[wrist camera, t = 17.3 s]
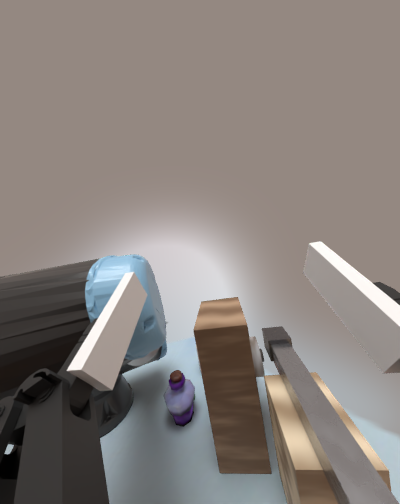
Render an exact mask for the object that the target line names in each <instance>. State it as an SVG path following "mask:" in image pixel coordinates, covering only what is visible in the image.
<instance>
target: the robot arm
mask: <svg viewBox="0 0 400 504" xmlns="http://www.w3.org/2000/svg"><path fill="white" fill-rule="evenodd" d="M303 273H304V275H305V276H306V277H307V278H308V280H309V281H310V282H311V283H312V285H313V286H314V287H315V288H316V289H317V291H318V292H319V293H320V295H321V296H322V297H323V299H324V300H325V301H326V302H327V304H328V305H329V306H330V307H331V309H332V310H333V311H334V312H335V314H336V315H337V316H338V317H339V319H340V320H341V321H342V322H343V324H344V325H345V326H346V328H347V329H348V330H349V331H350V332H351V334H352V335H353V336H354V338H355V339H356V340H357V341H358V343H359V344H360V345H361V346H362V348H363V349H364V350H365V352H366V353H367V354H368V355H369V356H370V358H371V359H372V360H373V361H374V363H375V364H376V365H377V367H378V368H379V369H380V370H381V372H382V373H400V293H398V292H397V291H396V290H395V289H393V288H391V287H389V286H387V285H384V284H383V283H381V282H376V283H371V282H370V281H369V280H368V279H367V278H365V277H364V276H363V275H362V274H360V273H359V272H358V271H357V270H355V269H354V268H353V267H352V266H350V265H349V264H348V263H347V262H345V261H344V260H343V259H342V258H341V257H339V256H338V255H337V254H335V253H334V252H333V251H332V250H331V249H329V248H328V247H327V246H326V245H324V244H323V243H322V242H315V243H309V246H308V251H307V257H306V262H305V266H304V271H303ZM166 346H167V345H166V322H165V316H164V311H163V306H162V302H161V298H160V293H159V290H158V286H157V284H156V281H155V277H154V274H153V271H152V269H151V266H150V264H149V263H148V261H147V260H146V259H145V258H144V257H142V256H140V255H125V256H106V257H103V258H101V259H95V260H90V261H85V262H79V263H75V264H68V265H63V266H58V267H53V268H47V269H41V270H36V271H31V272H25V273H20V274H14V275H8V276H4V277H0V504H109V499H108V492H107V485H106V478H105V471H104V464H103V458H102V451H101V444H100V437H101V436H103V435H105V434H107V433H108V432H109V431H111V430H112V429H113V428H115V427H116V426H117V425H118V424H119V423H120V422H121V421H122V419H123V418H124V417H125V416H126V414H127V413H128V411H129V409H130V407H131V405H132V402H133V393H132V388H131V386H130V385H129V383H127V381H126V379H125V378H124V376H123V375H122V373H125V372H127V371H130V370H132V369H135V368H137V367H140V366H142V365H145V364H147V363H150V362H153V361H155V360H159V359H160V358H162V357H164V356H165V355H166V352H167V347H166ZM8 444H12V445H14V447H13V449H12V451H11V453H10V454H8V455H7V454H4V453H5V450H6V448H7V445H8Z"/></svg>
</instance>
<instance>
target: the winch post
mask: <svg viewBox="0 0 400 504" xmlns="http://www.w3.org/2000/svg"><path fill="white" fill-rule="evenodd" d="M194 335H195V341H196V346H197V352H198V357H199V362H200V368H201V373H202V379H203V384H204V389H205V395H206V400H207V406H208V411H209V417H210V422H211V427H212V433H213V438H214V444H215V449H216V454H217V460H218V465H219V471H220V473H247V474H272V473H271V467H270V461H269V455H268V449H267V443H266V437H265V431H264V425H263V418H262V412H261V406H260V400H259V394H258V388H257V382H256V377H263V376H264V368H263V363H262V362H264V358H263V353H262V350H261V349H259V346H258V343H257V340H256V338H255V337H249V333H248V327H247V323H246V320H245V317H244V314H243V311H242V308H241V306H240V302H239V300H238V297H234V298H226V299H219V300H212V301H203V302H201V305H200V309H199V313H198V316H197V320H196V324H195V327H194Z"/></svg>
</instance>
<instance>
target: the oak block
mask: <svg viewBox="0 0 400 504" xmlns="http://www.w3.org/2000/svg"><path fill="white" fill-rule="evenodd" d="M310 374H311V376H312V377H313V379H314V380H315V381H316V383H317V384H318V386H319V387H320V389H321V390H322V392H323V393H324V395H325V396H326V398H327V399H328V400H329V402H330V403H331V405H332V406H333V408H334V409H335V411H336V412H337V414H338V415H339V417H340V418H341V419H342V421H343V422H344V424H345V425H346V427H347V428H348V430H349V431H350V433H351V434H352V436H353V437H354V438H355V440H356V441H357V443H358V444H359V446H360V447H361V449H362V450H363V452H364V453H365V455H366V456H367V457H368V459H369V460H370V462H371V463H372V465H373V466H374V468H375V469H376V471H377V472H378V474H379V475H380V476H381V478H382V479H383V481H384V482H385V484H386V485H387V487H388V488H389V490H390V491H391V486H390V477H389V470H388V469H387V468H386V466H385V465H384V463H383V462H382V461H381V459H380V458H379V457H378V455H377V454H376V453H375V451H374V450H373V449H372V447H371V446H370V445H369V443H368V442H367V440H366V439H365V438H364V436H363V435H362V434H361V432H360V431H359V430H358V428H357V427H356V426H355V424H354V423H353V421H352V420H351V419H350V417H349V416H348V415H347V413H346V412H345V411H344V409H343V408H342V407H341V405H340V404H339V403H338V401H337V400H336V399H335V397H334V396H333V394H332V393H331V392H330V390H329V389H328V388H327V386H326V385H325V384H324V382H323V381H322V380H321V378H320V377H319V376H318V374H317V373H316V372H314V373H310ZM264 379H265V386H266V392H267V398H268V404H269V410H270V417H271V423H272V429H273V435H274V442H275V448H276V454H277V460H278V466H279V473H280V477H281V481H282V485H283V488H284V492H285V496H286V500H287V504H338V502H337V500H336V498H335V496H334V493H333V491H332V489H331V487H330V485H329V482H328V480H327V478H326V476H325V474H324V471H323V469H322V467H321V465H320V462H319V460H318V458H317V456H316V454H315V451H314V449H313V447H312V445H311V443H310V440H309V438H308V436H307V434H306V432H305V429H304V427H303V425H302V423H301V421H300V418H299V416H298V414H297V412H296V410H295V407H294V405H293V403H292V401H291V399H290V396H289V394H288V392H287V390H286V387H285V385H284V383H283V381H282V379H281V376H280V375H268V376H264Z"/></svg>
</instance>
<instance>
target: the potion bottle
mask: <svg viewBox="0 0 400 504" xmlns="http://www.w3.org/2000/svg"><path fill="white" fill-rule="evenodd" d="M164 398H165V402H166V405H167V407H168V409H169V411H170V413H171V415H173V417H174V420H175V423H176V425H179V426H185V425H186V424H188V423H189V422H190V421H191V419H192V416H193V413H194V412H193V401H194V400H195V388H194V386H193V384H192V382H191V381H190V380H188V379H185V377H184V375H183V373H181V371H179V370H176V371H174V372H172V373H171V375H170V380H169V386H168V388H167V390H166V392H165V394H164Z"/></svg>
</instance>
